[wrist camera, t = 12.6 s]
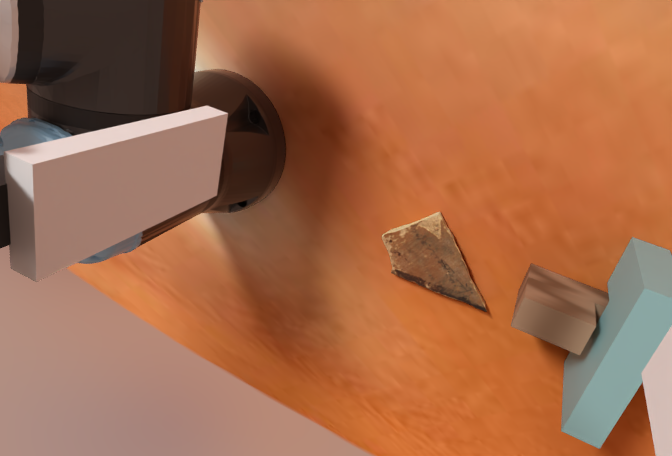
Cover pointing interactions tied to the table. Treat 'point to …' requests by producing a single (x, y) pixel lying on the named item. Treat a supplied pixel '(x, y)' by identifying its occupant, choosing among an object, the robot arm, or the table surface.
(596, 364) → the teal board
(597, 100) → the table surface
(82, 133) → the robot arm
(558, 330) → the walnut board
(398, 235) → the shard
